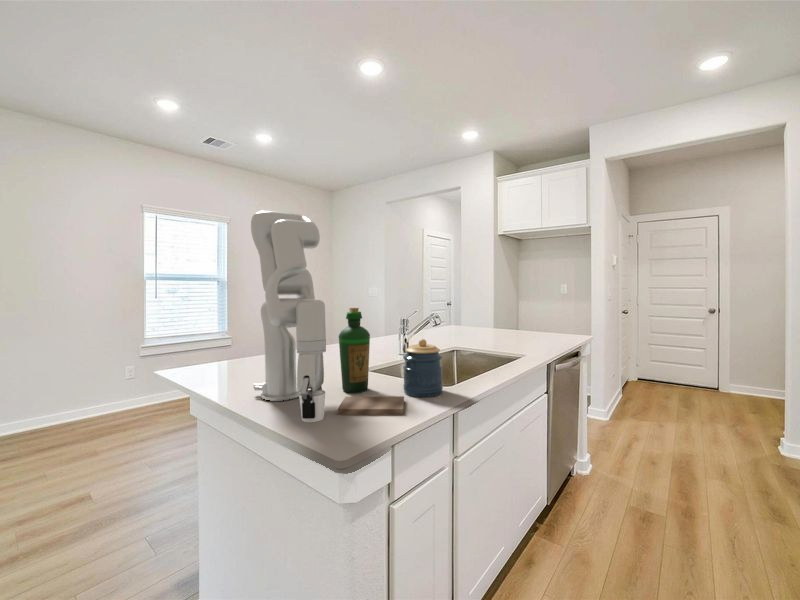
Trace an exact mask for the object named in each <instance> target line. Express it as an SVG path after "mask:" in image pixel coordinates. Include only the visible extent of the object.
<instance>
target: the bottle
mask: <svg viewBox="0 0 800 600" xmlns="http://www.w3.org/2000/svg"><path fill="white" fill-rule="evenodd" d="M359 309H360V308H359V307H349V308H348V310H349V311H347V312H346V317H345V319H346V320H347V326H346V327H345V328H344V329H342V330H341V331H340V333H339V334H338V343H339V344H338V346H339V360H340V372H341V386H342V388H341V389H342V391H344V392H346V393H350V394H355V393H362V392H365V391H367V390H368V388H369V370H370V368H369V365H370V344H371V343H370V342H371V340H370V339H371V334H370V332H369V330H367V329H366V328H365V327H363V326H361V319H363V316H362V312H361V311H359Z"/></svg>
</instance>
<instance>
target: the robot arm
mask: <svg viewBox="0 0 800 600" xmlns="http://www.w3.org/2000/svg"><path fill="white" fill-rule="evenodd" d="M250 233H251V237H252V241H253V243H254V245H255V248H256V250H257V253H258V256H259V261H260V262H259V263H260V264H259V265H260V273H261V282H262V287H263V290H264V292H265V294H264V296H265V301H264V302H262V304H261V306H260V317H261V323H262V328H263V336H264V337H263V338H264V341H263V342H264V364H265V366H264V369H265V370H264V371H265V376H264V377H265V378H264V379H265V382H263V383H262V382H261V383H260V382H259V383H253V389H254V390H253V391H261V393H260V399H261V398H262V399H261V400H263V399H265V400H264V401H266V400H270V401H269V402H282V401H283V400H284V401H289V399H290V400H293V399H296V398H299V393H300V392H301V395H302V416H301V419H302V418H304V419H311V418H315V402H314V392H315V391H316V390H323V389H322V387H323V386H322V385H323V384H324V379H325V367H324V365H325V364H324V353H326V351H327V342H326V340H327V338H326V335H327V333H326V305H325V302H324V301H323V300H320V299H315V290H314V282H313V278H312V277H313V276H312V275H311V272H310V271H309V270H308V269H307V265H308V264H307V260H306V255H305V251H304V249H310V250H312V249H316V248H317V247H318V246H319V244H320V238H321V236H320V235H321V234H320V230H319V228H318V226H317V224H316V223H315V222H314V221H313V220H311V219H310V218H308V217H307V216H306V215H303V214H299V213H292V212H291V213H290V212H281V211H275V210H260V211H258V212H255V213H254V214H253V215H252V217H251V220H250ZM279 296H296V297H297V298H295V297H294V298H291V297H290V298H289V297H287V298H286V297H285V298H284V297H283V298H280V297H279ZM289 328H295V329H296V331H295V332H296V334H295V335H296V339H295V337H294V335H292V333H291V332H290V331H289V330H288V329H289ZM297 354H298V357H297ZM296 357H297V358H296ZM308 393H311V397H310V395H309V394H308Z"/></svg>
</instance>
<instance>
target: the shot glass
mask: <svg viewBox="0 0 800 600" xmlns="http://www.w3.org/2000/svg"><path fill="white" fill-rule="evenodd" d="M308 394H309V395H310V397H311V393H308ZM298 398H299V406H300V413H301V414H300V415H301V421H302V422H305V423H316V422H320V421H323V420H324V417H325V416H324V415H325V414H324V413H325V401H326V391H325V390H323V389H322V390H316V391H315V392H314V402H315V418H311V419H304V418H302V395H301V392H300V393H299V397H298Z"/></svg>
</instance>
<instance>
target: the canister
mask: <svg viewBox="0 0 800 600" xmlns="http://www.w3.org/2000/svg"><path fill="white" fill-rule="evenodd" d="M427 343H428V342H427V340H426V339H424V338H420V339H419V341H418V344H411V345H410V346H409V347H407V348H406V349H405V352H406V354H405V355H403V357H402V359H403V360H404V365H403V391H404V394H406V395H407V396H410V397H416V398H431V397H436V396H440V395H441V394H442V393H443V389H444V385H443V369H444V368H443V364H442V359H443V356H442V355H441V354H440V353H439V352H440V351H441V350H440V348H438V347H436V345H434V344H427Z"/></svg>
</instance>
